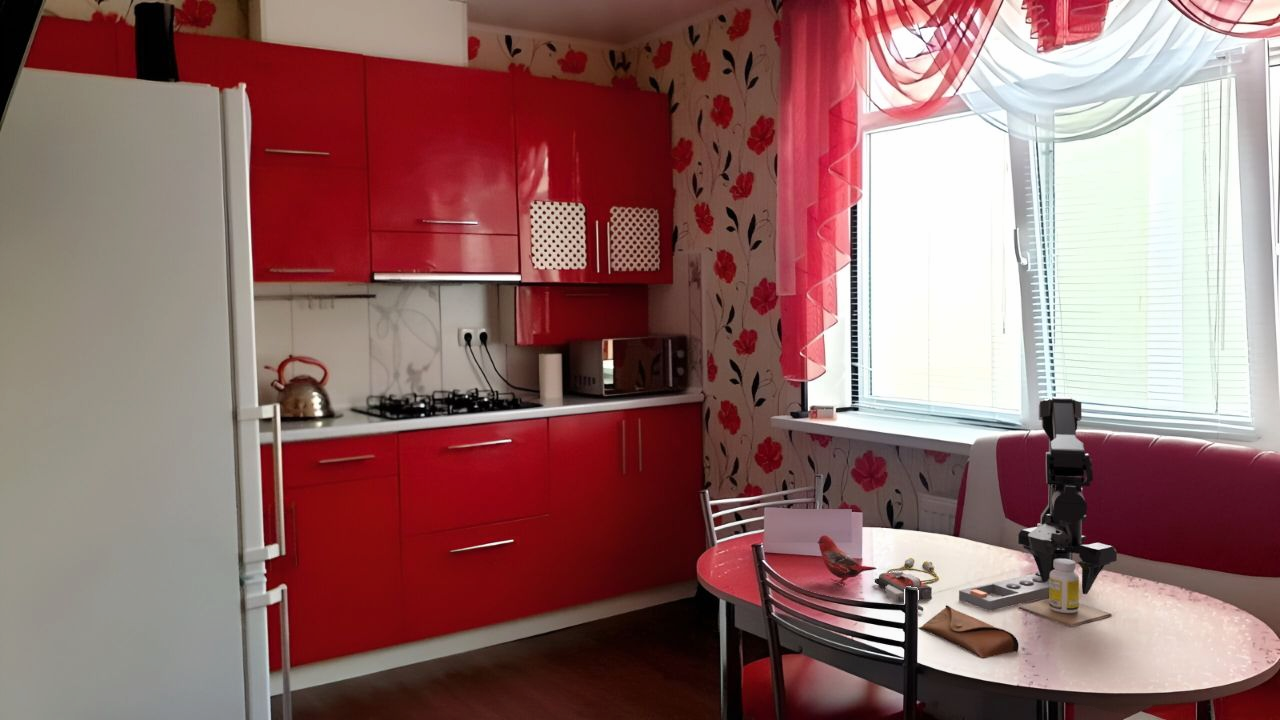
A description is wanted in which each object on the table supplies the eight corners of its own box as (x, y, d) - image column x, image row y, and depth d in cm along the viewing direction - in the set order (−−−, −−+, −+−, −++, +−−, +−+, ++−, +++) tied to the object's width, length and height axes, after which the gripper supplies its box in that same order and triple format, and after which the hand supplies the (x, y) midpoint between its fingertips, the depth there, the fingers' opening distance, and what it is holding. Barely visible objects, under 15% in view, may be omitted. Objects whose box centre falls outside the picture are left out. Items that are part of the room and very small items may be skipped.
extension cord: (958, 575, 217) (958, 566, 217) (918, 590, 207) (918, 581, 207) (911, 564, 226) (911, 555, 226) (871, 577, 216) (871, 569, 216)
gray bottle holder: (1031, 582, 209) (1031, 571, 209) (1063, 593, 202) (1063, 580, 202) (958, 599, 199) (959, 587, 198) (989, 611, 192) (989, 598, 191)
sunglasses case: (913, 627, 183) (927, 595, 184) (937, 639, 186) (951, 608, 187) (984, 659, 167) (999, 624, 168) (1009, 673, 170) (1024, 638, 171)
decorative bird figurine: (821, 575, 217) (821, 532, 216) (881, 595, 202) (881, 549, 201) (812, 577, 215) (812, 534, 215) (871, 598, 201) (871, 551, 200)
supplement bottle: (1078, 607, 192) (1079, 559, 191) (1078, 615, 187) (1079, 566, 186) (1049, 603, 194) (1050, 556, 193) (1048, 611, 189) (1049, 563, 188)
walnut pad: (1058, 598, 198) (1058, 596, 198) (1111, 615, 188) (1111, 613, 188) (1018, 608, 193) (1018, 606, 193) (1070, 626, 182) (1070, 624, 182)
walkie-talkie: (865, 587, 209) (917, 617, 190) (865, 567, 209) (917, 595, 190) (900, 583, 212) (955, 612, 193) (900, 563, 211) (955, 590, 192)
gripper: (999, 506, 193) (998, 581, 194) (1080, 525, 177) (1078, 608, 178) (1037, 499, 198) (1035, 573, 200) (1119, 517, 182) (1117, 598, 183)
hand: (1064, 587), depth 190 cm, fingers open, 9 cm apart
